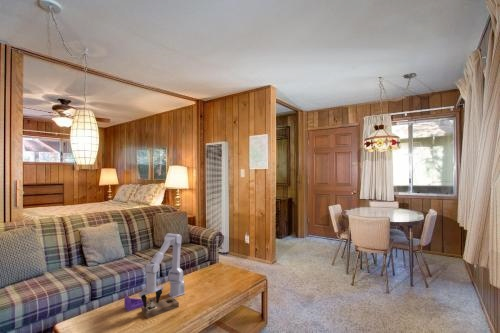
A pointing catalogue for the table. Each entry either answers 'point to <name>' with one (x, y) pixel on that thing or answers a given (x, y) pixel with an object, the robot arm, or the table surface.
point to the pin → (151, 303)
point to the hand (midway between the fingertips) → (151, 304)
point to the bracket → (132, 303)
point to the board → (160, 307)
